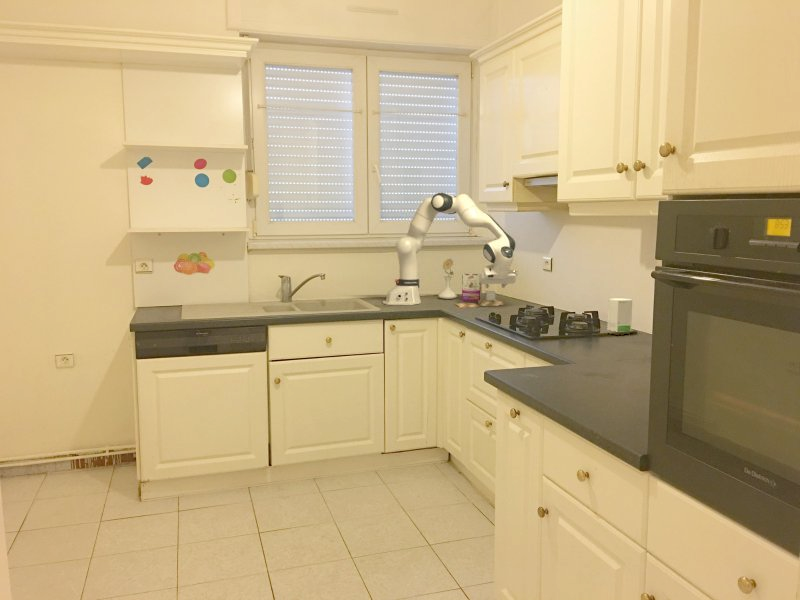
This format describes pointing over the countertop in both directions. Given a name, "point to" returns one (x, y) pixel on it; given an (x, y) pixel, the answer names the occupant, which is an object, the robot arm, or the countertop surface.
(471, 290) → the candy bar box
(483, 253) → the robot arm
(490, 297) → the grey block
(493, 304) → the birch box
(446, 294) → the flower in vase
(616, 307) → the skincare box
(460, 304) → the cork mat
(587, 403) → the countertop surface
